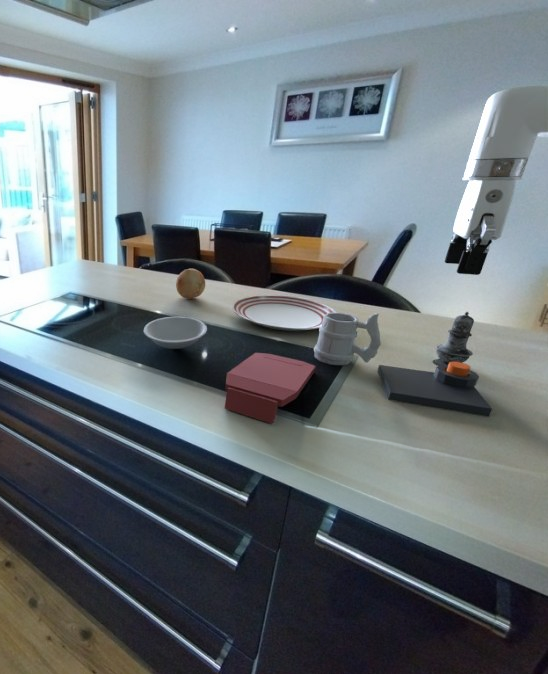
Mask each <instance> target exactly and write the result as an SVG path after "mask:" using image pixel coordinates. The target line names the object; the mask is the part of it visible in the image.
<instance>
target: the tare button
mask: <svg viewBox="0 0 548 674" xmlns="http://www.w3.org/2000/svg"><path fill="white" fill-rule="evenodd" d="M469 370H471V366H470V365H469V364H467V363H465V362H462V363H461V362H450V363H449V365H448V368H447V370H446V372H448V373H450V374H454V375H457V376H468V373H469Z"/></svg>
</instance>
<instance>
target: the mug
mask: <svg viewBox="0 0 548 674" xmlns="http://www.w3.org/2000/svg"><path fill="white" fill-rule="evenodd" d="M379 315H380V314H379V312H375V313H372V315H370V316H369V317H368V318H367V320H366V322H363V321H359V318H358V317H356V316H355V315H352V314H349V313H345V312H337V313H334V312H333V313H327V314H326V315H324V318H323V322H322V325H321V326H320V328H318V329H319V330H318V331H319V332H318V333H319V334H318V338H317V342H316V344H315V345H314V347H313V352H314V355H313V357H314V358H315V359H316V360H317V361H318V362H322V363H323V364H327V365H332V366H347V365H350V363H351V361H352V360H353V358H354V355H355V354H356V355H357V356H359V357H360V358H361V359H362V360H363V362H364V363H366V364H367V363H368V364H369V362H370V361H371V359H374V358H375V357H376V356H377V354H378V350H379V348H380V347H381V345H382V344H381V343H382V342H381V334H380V327H379V323H378V318H379ZM358 328H359V329H362V330H363V329H364V330H366V332H367V333H368V335H369V337H370V341H369V344H368V345H367V346H366V347H364V348H363V347H361V346H360V345H358V344H355V340H356V338H357V337H358Z"/></svg>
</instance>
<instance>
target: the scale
mask: <svg viewBox="0 0 548 674" xmlns="http://www.w3.org/2000/svg"><path fill="white" fill-rule="evenodd" d="M447 368H448V365H439V366H436V367H435V370H434V371H427V370H420V369H412V368H406V367H398V366H392V365H391V366H390V365H385V364H378V367H377V371H376V372H377V373H376V374H377V375H378V377H379V381H380V383H381V385H382V388H383V391H384V393H385V395H386V398H387V400H388V401H394V402H400V403H404V404H411V405H417V406H422V407H428V408H435V409H440V410H446V411H452V412H458V413H463V414H470V415H476V416H481V417H487V418H489V417H490V416H491V413H492V411H493V407H492V406H491V405H490V404H489V403H488V402H487V400H486V399H485V397H484V396H482V394H481V393H480V392H479V391H478V390H477V388H476V386H477V384H478V381H479V379H480V376H479V374H478V373H477V372H475V371H474V370H471V369H470V370H469V373H468V376H457V375H454V374H450V373H448V372H446V370H447Z"/></svg>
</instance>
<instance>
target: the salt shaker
mask: <svg viewBox="0 0 548 674" xmlns="http://www.w3.org/2000/svg"><path fill="white" fill-rule="evenodd" d="M474 323H475V319H474V318H473V317H472V316H470V313H469V311H466V312H464V314H462V315H458V316H456V317H455V318H454V321H453V323H452V327H451V329H449V330H448V333H449V334H448V336H447V340H446V341H445V342H444V343H439V344H436V345H435V349H436V351H435V352H436V356H437V357H438V358H436V359H433V360H432V363H433V364H434V366H436V367H438V366H439V365H449V363H450V362H461V363H465V362H467V361H468V359H470V357H471V356H473V354H474V353H473V352H472V351H471V350H470V349H468V348H467V345H468V344H467V343H468V341H469V338H470V337H472V335H473V334H472V333H471V331H472V328H473V326H474Z"/></svg>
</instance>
